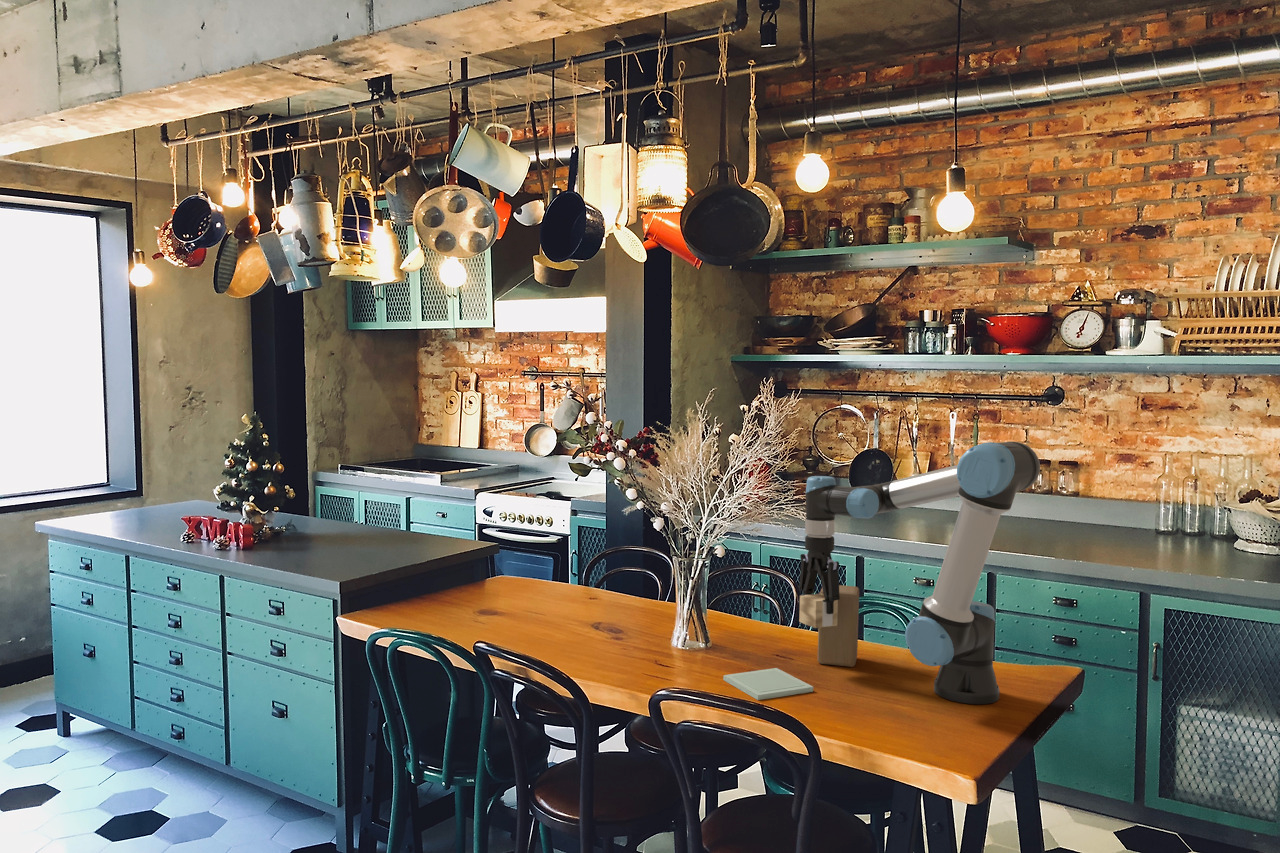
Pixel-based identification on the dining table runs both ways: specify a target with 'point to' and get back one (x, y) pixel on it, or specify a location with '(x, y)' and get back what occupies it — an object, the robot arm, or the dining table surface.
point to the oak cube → (814, 610)
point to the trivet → (767, 683)
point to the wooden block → (841, 631)
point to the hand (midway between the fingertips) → (818, 622)
